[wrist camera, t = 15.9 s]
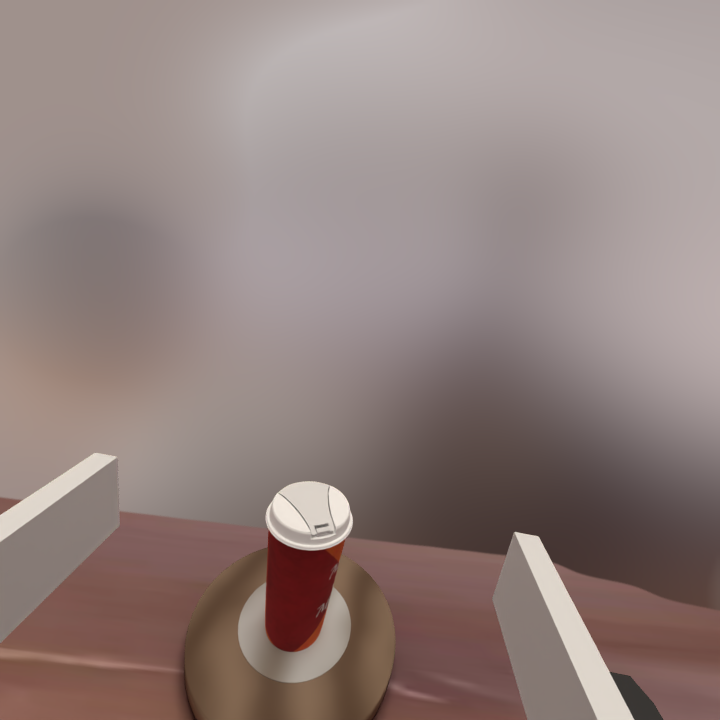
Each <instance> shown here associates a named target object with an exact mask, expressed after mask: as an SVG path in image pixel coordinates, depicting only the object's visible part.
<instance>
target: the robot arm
mask: <svg viewBox="0 0 720 720" xmlns="http://www.w3.org/2000/svg"><path fill="white" fill-rule="evenodd" d="M119 526H120V520H119V489H118V459H117V457H115V456H110V455H104V454H99V453H94V454H93V455H91V456H90V457H88V458H87V459H85V460H84V461H82V462H81V463H79V464H77V465H76V466H74V467H73V468H71V469H70V470H68V471H67V472H65V473H64V474H62V475H61V476H59V477H58V478H56V479H55V480H53V481H52V482H50V483H49V484H47V485H46V486H44V487H43V488H41V489H39V490H38V491H36V492H35V493H33V494H32V495H30V496H29V497H28V498H26V499H24V500H23V501H21V502H20V503H18V504H17V505H15V506H14V507H12V508H11V509H9V510H8V511H6V512H4V513H3V514H1V515H0V643H1V642H2V641H3V640H4V639H5V638H6V637H7V636H8V635H9V634H10V633H11V632H12V631H13V630H14V629H15V628H16V627H17V626H18V625H19V624H20V623H21V622H22V621H23V620H24V619H25V618H26V617H27V616H28V615H29V614H30V613H31V612H32V611H33V610H34V609H35V608H36V607H37V606H38V605H39V604H40V603H41V602H42V601H43V600H45V599H46V598H47V597H48V596H49V595H50V594H51V593H52V592H53V591H54V590H55V589H56V588H57V587H58V586H59V585H60V584H61V583H62V582H63V581H64V580H65V579H66V578H67V577H68V576H69V575H70V574H71V573H72V572H73V571H74V570H75V569H76V568H77V567H78V566H79V565H80V564H81V563H82V562H83V561H84V560H85V559H86V558H87V557H88V556H89V555H90V554H91V553H92V552H93V551H94V550H95V549H96V548H97V547H98V546H99V545H100V544H101V543H102V542H103V541H104V540H106V539H107V538H108V537H109V536H110V535H111V534H112V533H113V532H114V531H115V530H116V529H117V528H118V527H119ZM492 600H493V603H494V606H495V610H496V613H497V617H498V620H499V624H500V627H501V630H502V634H503V637H504V641H505V644H506V648H507V651H508V654H509V658H510V661H511V665H512V668H513V672H514V675H515V678H516V682H517V685H518V689H519V692H520V695H521V699H522V702H523V706H524V709H525V713H526V716H527V719H528V720H663V718H662V717H661V715H660V713H659V711H658V710H657V708H656V706H655V705H654V703H653V702H652V701H651V700H650V699H649V697H648V696H647V695H646V694H645V693H644V692H643V691H642V689H641V688H640V687H639V686H638V685H637V684H636V683H635V681H634V680H633V679H632V678H631V677H630V676H627V675H622V674H617V673H612V672H609V670H608V669H607V667H606V665H605V663H604V661H603V659H602V657H601V655H600V653H599V651H598V649H597V647H596V646H595V644H594V642H593V640H592V638H591V636H590V634H589V632H588V630H587V628H586V626H585V625H584V623H583V621H582V619H581V617H580V615H579V613H578V611H577V609H576V607H575V605H574V603H573V602H572V600H571V598H570V596H569V594H568V592H567V590H566V588H565V586H564V584H563V582H562V581H561V579H560V577H559V575H558V573H557V571H556V569H555V567H554V565H553V563H552V561H551V560H550V558H549V556H548V554H547V552H546V550H545V548H544V546H543V544H542V543H541V540H540V538H539V537H538V536H533V535H527V534H522V533H517V532H514V534H513V538H512V540H511V543H510V547H509V550H508V553H507V556H506V559H505V562H504V565H503V568H502V571H501V574H500V577H499V580H498V583H497V586H496V589H495V592H494V595H493V598H492Z"/></svg>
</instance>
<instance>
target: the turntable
mask: <svg viewBox="0 0 720 720" xmlns="http://www.w3.org/2000/svg"><path fill="white" fill-rule="evenodd" d="M267 554H268V548H264V549H261V550H259V551H256V552H253V553H251V554H249V555H247V556H245V557H243V558H241V559H240V560H238V561H236V562H235V563H233V564H232V565H231V566H229V567H228V568H227V569H225V570H224V571H223V572H222V573H221V574H220V575H219V576H218V577H217V578H216V579H215V580H214V581H213V582H212V583H211V584H210V586H209V587H208V588H207V589H206V591H205V592H204V594H203V595H202V597H201V598H200V600H199V602H198V604H197V606H196V608H195V610H194V612H193V614H192V617H191V620H190V623H189V626H188V631H187V636H186V641H185V662H184V675H185V687H186V691H187V696H188V700H189V703H190V706H191V708H192V711H193V713H194V716H195V718H196V719H197V720H372V719H373V717H374V716H375V714H376V713H377V711H378V709H379V706H380V704H381V702H382V700H383V698H384V695H385V692H386V689H387V686H388V683H389V679H390V675H391V671H392V666H393V661H394V656H395V628H394V623H393V618H392V614H391V611H390V608H389V605H388V603H387V601H386V599H385V597H384V595H383V593H382V591H381V590H380V588H379V586H378V585H377V584H376V582H375V581H374V580H373V579H372V577H371V576H370V575H369V574H368V573H367V572H366V571H365V570H364V569H363V568H362V567H360V566H359V565H358V564H357V563H355V562H354V561H352V560H351V559H349V558H348V557H346V556H344V555H342V554H341V557H340V561H339V565H338V569H337V573H336V577H335V581H334V585H333V588H332V592H331V596H330V600H329V604H328V607H327V611H326V615H325V618H324V622H323V625H322V628H321V631H320V634H319V636H318V638H317V639H316V641H315V642H314V643H313V644H312V645H311V646H309V647H308V648H306V649H304V650H301V651H297V652H287V651H283V650H280V649H278V648H277V647H275V646H274V645H273V644H272V643H271V642H270V640H269V638H268V636H267V634H266V629H265V600H266V576H267Z"/></svg>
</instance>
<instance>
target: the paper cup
mask: <svg viewBox="0 0 720 720" xmlns="http://www.w3.org/2000/svg"><path fill="white" fill-rule="evenodd" d="M329 488H330V489H329ZM352 520H353V518H352V514H351V512H350V507H349V504H348V501H347V499H346V498H345V497H344V495H343V494H342V493H341V492H340V491H339V490H337V489H336V488H334V487H332V486H329V485H326V484H323V483H318V482H311V481H310V482H309V481H306V482H298V483H294V484H291V485H288V486H286V487H285V488H284V489H282V490H281V491H279V492H278V493H277V494H276V496H275V497H274V499H273V501H272V502H271V504H270V505H269V507H268V509H267V512H266V524H267V527H268V529H269V532H268V554H267V576H266V600H265V629H266V634H267V636H268V638H269V640H270V642H271V643H272V644H273V645H274V646H275V647H277V648H278V649H280V650H283V651H287V652H297V651H301V650H304V649H306V648H308V647H309V646H311V645H312V644H313V643H314V642H315V641H316V639H317V638H318V636H319V634H320V631H321V628H322V625H323V622H324V618H325V615H326V611H327V607H328V604H329V600H330V596H331V592H332V588H333V585H334V581H335V577H336V573H337V569H338V565H339V561H340V557H341V554H342V550H343V546H344V542H345V538H346V537H347V536H348V534H349V533H350V531H351V529H352V524H353V521H352Z"/></svg>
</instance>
